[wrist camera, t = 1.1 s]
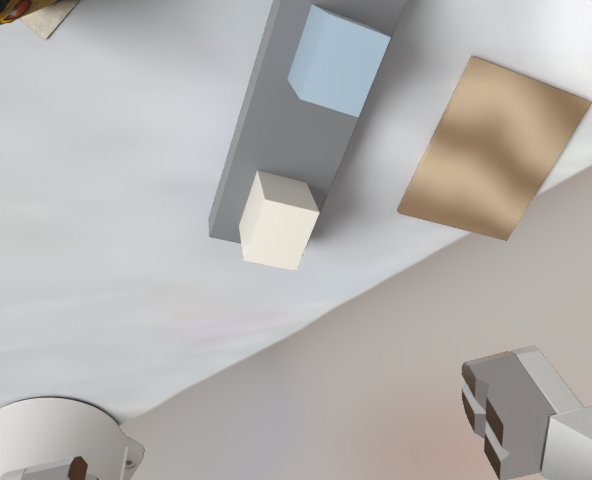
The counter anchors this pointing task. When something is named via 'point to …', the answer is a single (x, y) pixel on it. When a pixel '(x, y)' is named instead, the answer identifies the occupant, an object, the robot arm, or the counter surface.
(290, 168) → the power strip
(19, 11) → the condiment
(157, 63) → the counter surface
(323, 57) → the light blue block
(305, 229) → the plug
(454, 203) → the oak pad
